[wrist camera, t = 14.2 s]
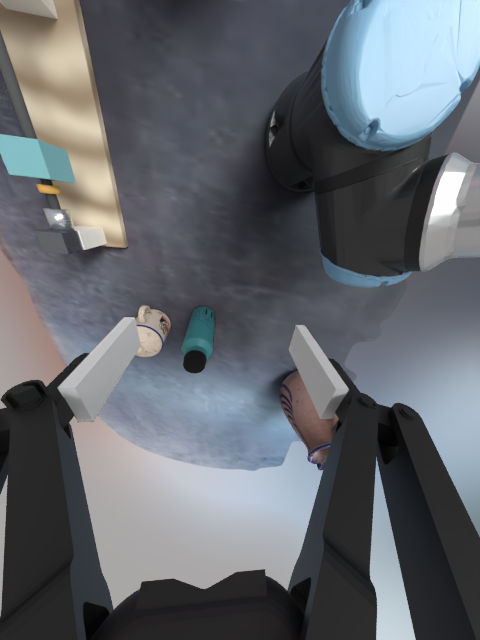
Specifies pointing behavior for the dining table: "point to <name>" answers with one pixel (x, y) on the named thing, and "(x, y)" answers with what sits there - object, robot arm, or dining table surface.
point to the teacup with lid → (151, 330)
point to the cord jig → (62, 119)
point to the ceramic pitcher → (306, 419)
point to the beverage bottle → (198, 340)
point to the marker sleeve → (35, 159)
